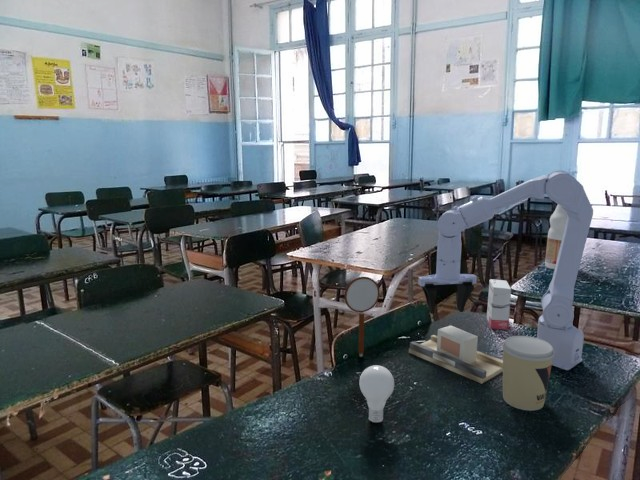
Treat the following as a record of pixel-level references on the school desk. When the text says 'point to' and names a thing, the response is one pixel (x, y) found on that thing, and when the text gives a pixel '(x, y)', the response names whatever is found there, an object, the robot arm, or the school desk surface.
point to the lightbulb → (376, 390)
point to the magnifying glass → (361, 301)
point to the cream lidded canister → (526, 371)
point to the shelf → (459, 361)
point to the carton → (457, 344)
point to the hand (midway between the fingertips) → (445, 311)
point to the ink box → (498, 304)
